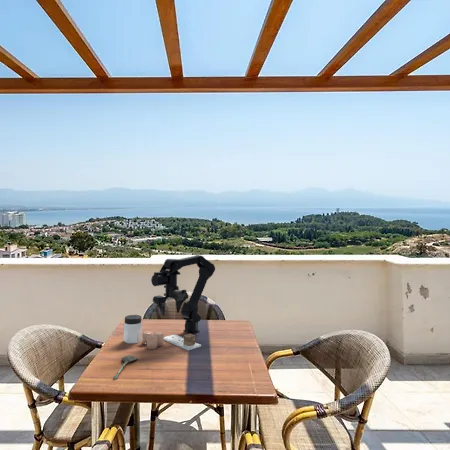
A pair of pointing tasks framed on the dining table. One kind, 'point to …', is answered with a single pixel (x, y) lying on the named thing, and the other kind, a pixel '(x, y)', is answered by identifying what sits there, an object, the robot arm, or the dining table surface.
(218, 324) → the dining table surface
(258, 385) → the dining table surface
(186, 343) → the brown cube
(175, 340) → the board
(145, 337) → the peach rounded piece
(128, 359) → the soupspoon
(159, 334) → the peach rounded capsule
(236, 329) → the dining table surface
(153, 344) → the peach rounded blob
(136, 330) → the jar
